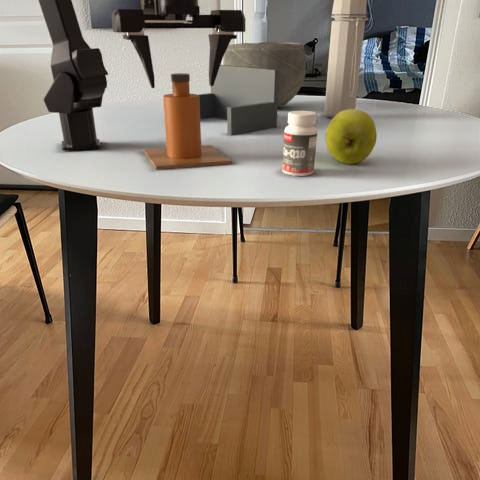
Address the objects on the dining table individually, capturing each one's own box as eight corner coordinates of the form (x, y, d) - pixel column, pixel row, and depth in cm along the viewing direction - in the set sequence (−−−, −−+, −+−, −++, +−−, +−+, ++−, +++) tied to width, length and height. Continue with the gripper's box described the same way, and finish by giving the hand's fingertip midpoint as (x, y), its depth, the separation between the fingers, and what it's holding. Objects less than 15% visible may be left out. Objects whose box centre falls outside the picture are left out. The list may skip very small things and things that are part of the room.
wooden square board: (231, 163, 79) (231, 160, 79) (156, 169, 76) (155, 166, 75) (211, 148, 89) (211, 145, 88) (144, 152, 85) (143, 149, 85)
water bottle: (317, 115, 120) (326, -9, 107) (345, 113, 122) (358, -8, 110) (336, 121, 113) (349, -11, 100) (366, 119, 115) (382, -11, 102)
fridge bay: (231, 135, 99) (231, 73, 93) (170, 121, 112) (166, 66, 106) (276, 127, 107) (279, 69, 101) (215, 115, 119) (213, 64, 114)
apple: (323, 169, 76) (328, 113, 72) (323, 155, 84) (327, 104, 80) (375, 171, 75) (383, 114, 71) (370, 157, 83) (377, 105, 79)
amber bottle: (205, 157, 80) (202, 75, 74) (170, 160, 79) (165, 76, 73) (196, 150, 85) (193, 72, 79) (164, 152, 83) (158, 72, 77)
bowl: (296, 101, 140) (300, 40, 132) (310, 113, 122) (315, 43, 114) (222, 101, 139) (221, 40, 131) (225, 114, 121) (224, 43, 113)
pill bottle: (276, 173, 74) (278, 113, 70) (291, 166, 77) (295, 109, 73) (304, 178, 72) (309, 116, 67) (319, 171, 75) (324, 112, 71)
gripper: (224, -31, 78) (225, 80, 86) (101, -34, 73) (115, 83, 81) (247, -38, 69) (246, 86, 77) (109, -42, 64) (123, 91, 72)
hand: (182, 86), depth 77 cm, fingers open, 9 cm apart
